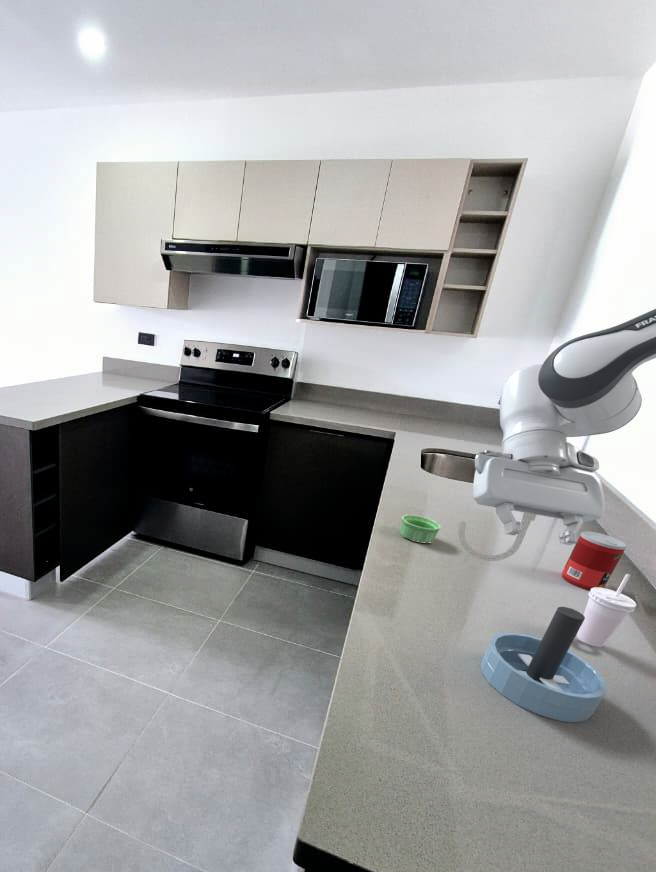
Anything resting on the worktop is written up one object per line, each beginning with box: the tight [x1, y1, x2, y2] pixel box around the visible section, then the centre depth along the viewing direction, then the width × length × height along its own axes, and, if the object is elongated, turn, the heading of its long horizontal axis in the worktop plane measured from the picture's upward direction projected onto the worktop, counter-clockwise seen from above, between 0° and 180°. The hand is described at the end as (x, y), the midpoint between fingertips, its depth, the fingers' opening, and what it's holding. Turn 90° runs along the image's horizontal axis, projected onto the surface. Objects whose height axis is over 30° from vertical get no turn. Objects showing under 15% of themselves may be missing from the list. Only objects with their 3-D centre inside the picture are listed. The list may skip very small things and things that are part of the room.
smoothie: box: [576, 573, 637, 648], centre depth 86 cm, size 6×6×14 cm
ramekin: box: [399, 514, 442, 543], centre depth 125 cm, size 9×9×4 cm
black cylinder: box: [518, 606, 585, 691], centre depth 72 cm, size 8×8×13 cm
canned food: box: [561, 530, 627, 591], centre depth 111 cm, size 8×8×11 cm
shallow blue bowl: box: [479, 632, 608, 723], centre depth 74 cm, size 14×14×5 cm
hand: (541, 538), depth 78 cm, fingers open, 8 cm apart
